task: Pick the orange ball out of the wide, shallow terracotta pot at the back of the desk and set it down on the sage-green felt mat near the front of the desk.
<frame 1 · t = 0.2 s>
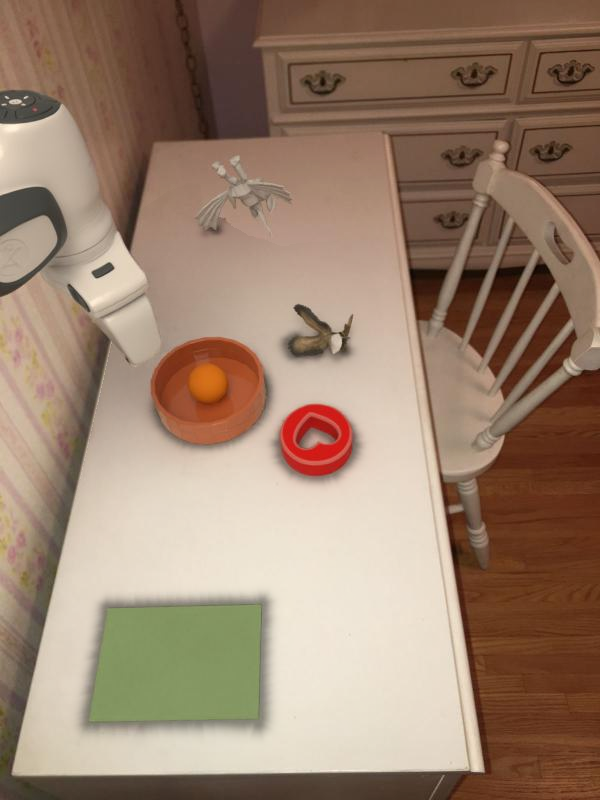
hand: (115, 339, 77), 17 cm above the table, tool pointing down, fingers open, 8 cm apart
decorative ornament: (316, 445, 87), on the table
orange: (211, 396, 92), resting on pot
grey winged dragon figurine: (250, 224, 115), on the table
pot: (212, 398, 93), on the table
felt mat: (179, 661, 71), on the table
eagle figurine: (319, 346, 98), on the table
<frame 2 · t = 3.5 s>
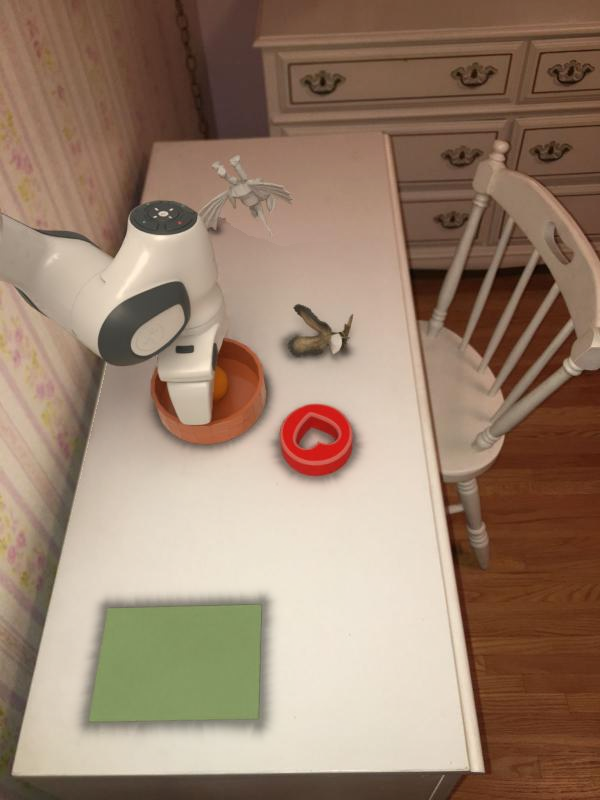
hand: (208, 387, 90), 3 cm above the table, tool pointing down, fingers closed on orange, 5 cm apart
orange: (211, 396, 92), point 1 cm above the table, touching gripper, pot
everything else where it was.
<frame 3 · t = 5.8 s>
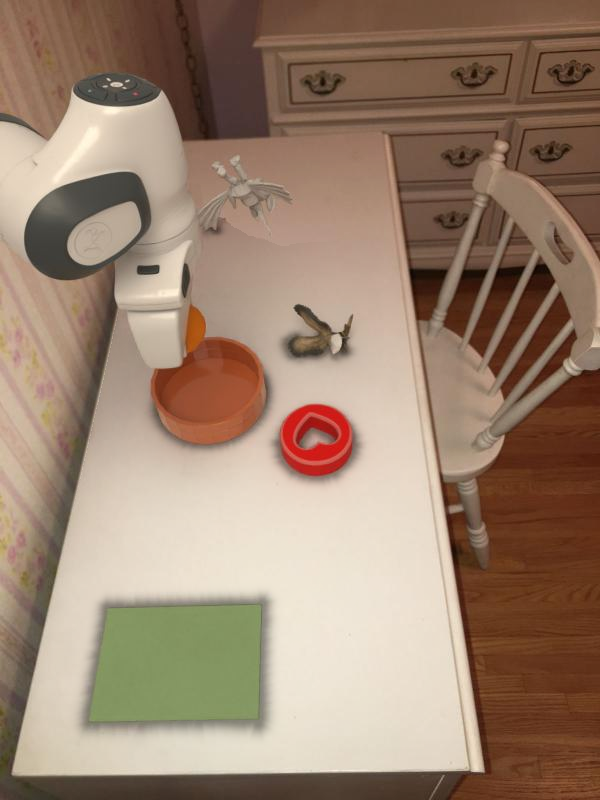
hand: (183, 331, 76), 18 cm above the table, tool pointing down, fingers closed on orange, 5 cm apart
orange: (186, 343, 78), point 16 cm above the table, touching gripper
everything else where it was.
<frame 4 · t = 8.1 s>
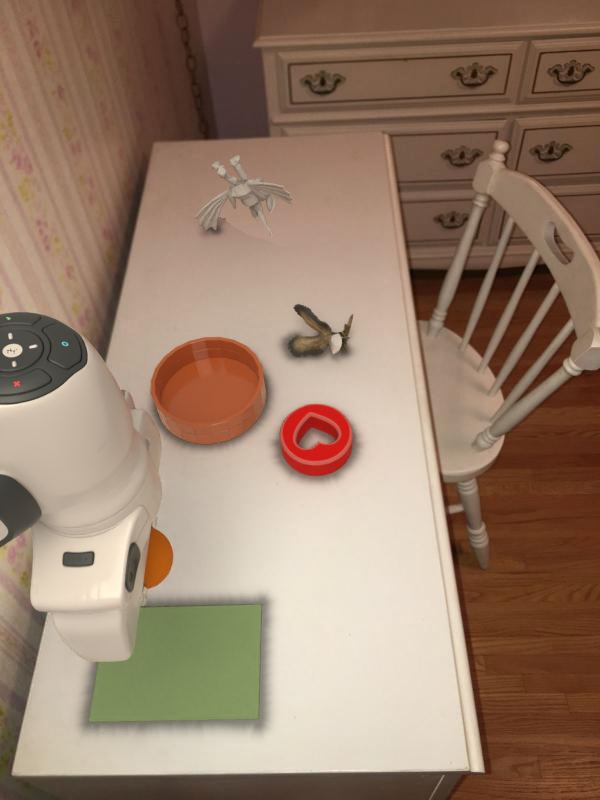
hand: (143, 561, 59), 19 cm above the table, tool pointing down, fingers closed on orange, 5 cm apart
orange: (149, 570, 61), point 17 cm above the table, touching gripper
everything else where it was.
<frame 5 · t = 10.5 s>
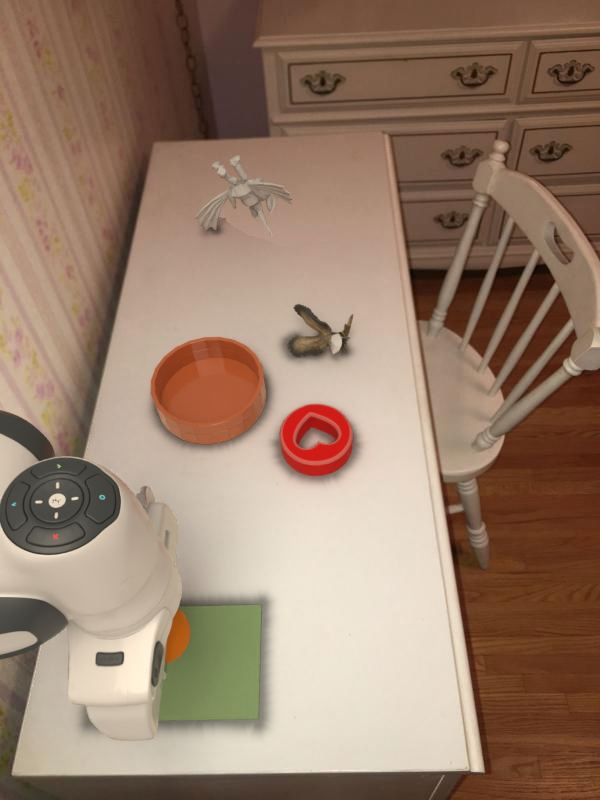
hand: (162, 636, 64), 9 cm above the table, tool pointing down, fingers closed on orange, 5 cm apart
orange: (168, 642, 66), point 7 cm above the table, touching gripper
everything else where it was.
when the fingers open (2 cm above the table, at t = 12.6 s): orange stays where it is, resting on felt mat.
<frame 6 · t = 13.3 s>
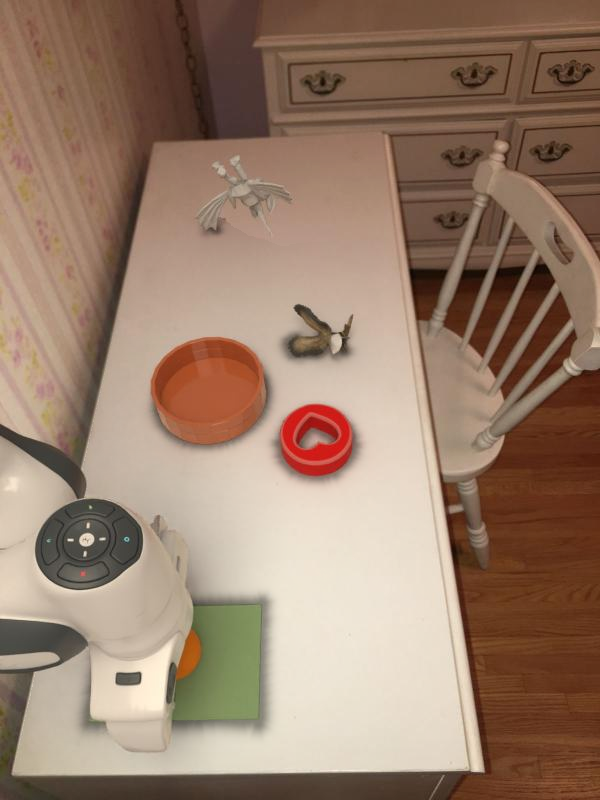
hand: (172, 654, 69), 3 cm above the table, tool pointing down, fingers open, 8 cm apart
orange: (180, 658, 71), resting on felt mat
everything else where it was.
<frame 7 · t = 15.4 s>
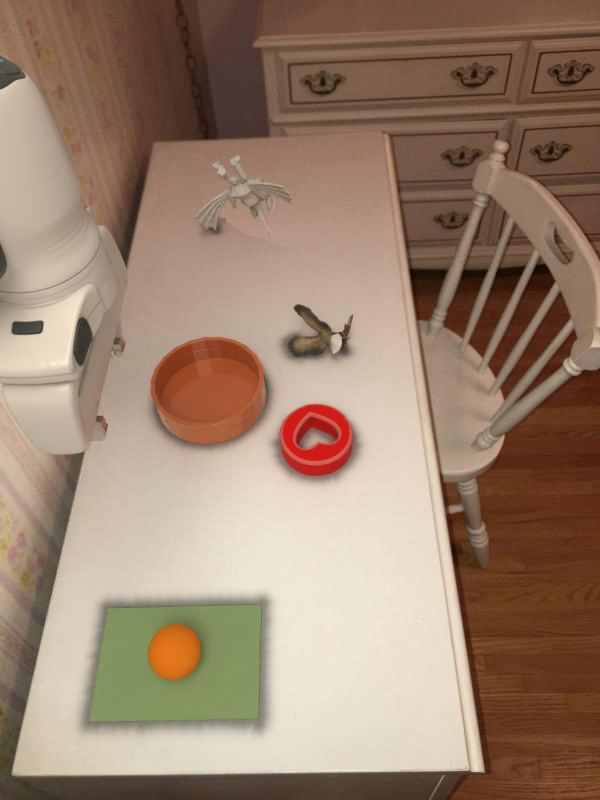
hand: (107, 390, 59), 28 cm above the table, tool pointing down, fingers open, 8 cm apart
nothing on the table moved.
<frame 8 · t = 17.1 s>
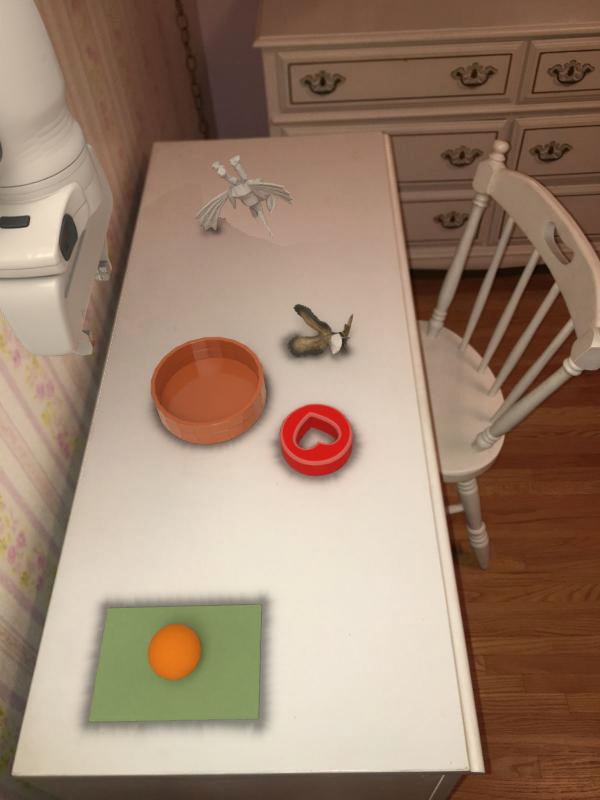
hand: (94, 310, 60), 31 cm above the table, tool pointing down, fingers open, 8 cm apart
nothing on the table moved.
at the end: orange inside the target area on the felt mat (0.2 cm from its centre), point 0.3 cm above the felt mat's base; the gripper is holding nothing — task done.
